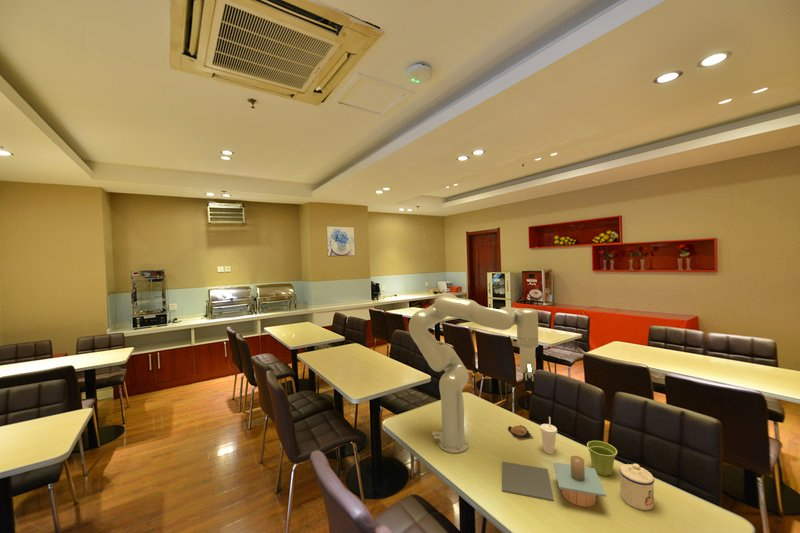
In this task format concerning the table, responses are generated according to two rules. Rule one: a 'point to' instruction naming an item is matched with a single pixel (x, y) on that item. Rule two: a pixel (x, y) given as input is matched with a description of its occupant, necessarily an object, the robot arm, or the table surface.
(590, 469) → the cover sheet
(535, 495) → the mat
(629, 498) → the teacup with lid
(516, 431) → the bread roll
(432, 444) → the table surface
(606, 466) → the plant pot
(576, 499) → the bowl
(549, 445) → the smoothie
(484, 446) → the table surface
